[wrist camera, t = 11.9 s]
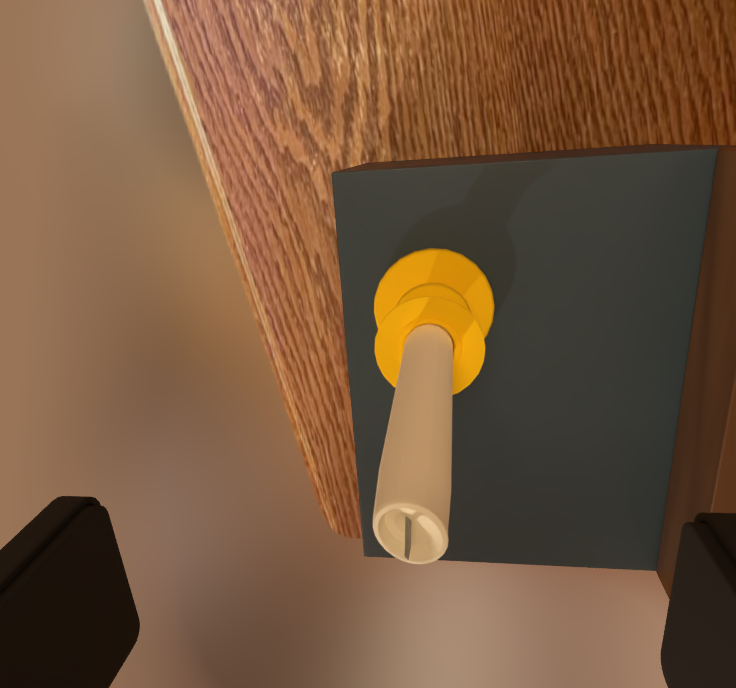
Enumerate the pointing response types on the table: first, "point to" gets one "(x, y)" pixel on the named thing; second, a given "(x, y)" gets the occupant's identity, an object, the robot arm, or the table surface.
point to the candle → (425, 391)
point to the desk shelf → (564, 345)
